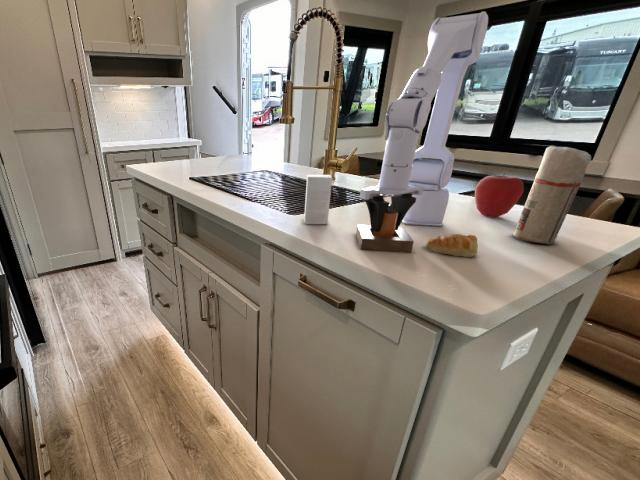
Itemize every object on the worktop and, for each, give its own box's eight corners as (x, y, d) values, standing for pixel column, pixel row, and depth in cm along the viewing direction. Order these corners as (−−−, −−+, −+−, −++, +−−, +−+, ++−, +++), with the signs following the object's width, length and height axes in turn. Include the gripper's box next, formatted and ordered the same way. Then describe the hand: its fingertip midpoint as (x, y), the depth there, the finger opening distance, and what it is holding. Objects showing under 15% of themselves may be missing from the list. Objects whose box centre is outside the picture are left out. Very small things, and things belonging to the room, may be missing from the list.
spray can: (515, 231, 89) (549, 144, 79) (557, 239, 84) (598, 146, 74) (507, 239, 83) (541, 146, 74) (551, 248, 78) (594, 149, 69)
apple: (515, 215, 102) (531, 172, 97) (510, 223, 95) (527, 177, 90) (472, 208, 109) (484, 168, 103) (464, 216, 101) (477, 172, 96)
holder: (401, 237, 85) (403, 226, 84) (411, 252, 76) (413, 241, 75) (355, 234, 87) (357, 224, 86) (360, 249, 78) (362, 238, 77)
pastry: (428, 254, 75) (433, 237, 73) (421, 244, 81) (425, 227, 79) (478, 258, 73) (484, 240, 71) (467, 247, 79) (472, 230, 77)
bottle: (384, 233, 83) (390, 201, 80) (397, 239, 80) (404, 205, 76) (368, 235, 82) (374, 202, 78) (380, 241, 78) (387, 207, 75)
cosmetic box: (325, 220, 98) (330, 174, 92) (327, 225, 94) (333, 177, 88) (303, 219, 98) (307, 174, 92) (304, 224, 94) (308, 177, 89)
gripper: (411, 161, 79) (398, 221, 85) (355, 164, 75) (346, 227, 81) (436, 165, 73) (420, 230, 79) (376, 169, 69) (365, 236, 75)
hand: (384, 229), depth 80 cm, fingers closed on bottle, 4 cm apart
